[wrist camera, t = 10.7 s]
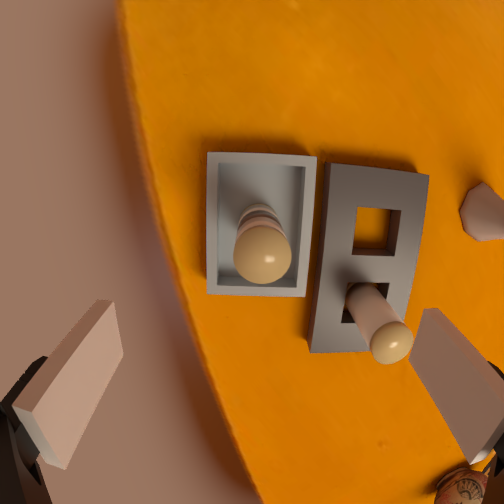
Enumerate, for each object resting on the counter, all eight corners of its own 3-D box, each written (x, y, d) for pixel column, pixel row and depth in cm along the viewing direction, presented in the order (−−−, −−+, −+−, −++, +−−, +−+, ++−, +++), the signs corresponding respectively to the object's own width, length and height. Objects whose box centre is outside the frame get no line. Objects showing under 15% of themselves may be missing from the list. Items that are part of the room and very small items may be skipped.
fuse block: (325, 161, 31) (331, 163, 29) (418, 172, 31) (429, 175, 29) (306, 341, 38) (310, 353, 35) (388, 338, 38) (395, 349, 36)
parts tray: (211, 151, 31) (207, 152, 28) (311, 155, 31) (316, 156, 28) (210, 282, 35) (207, 293, 33) (301, 285, 36) (305, 296, 33)
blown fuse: (239, 202, 32) (233, 227, 22) (279, 203, 32) (293, 229, 22) (238, 241, 33) (232, 283, 23) (277, 242, 33) (289, 284, 23)
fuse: (345, 277, 35) (378, 327, 25) (377, 277, 35) (418, 325, 25) (340, 308, 37) (368, 365, 26) (371, 308, 37) (406, 362, 26)
